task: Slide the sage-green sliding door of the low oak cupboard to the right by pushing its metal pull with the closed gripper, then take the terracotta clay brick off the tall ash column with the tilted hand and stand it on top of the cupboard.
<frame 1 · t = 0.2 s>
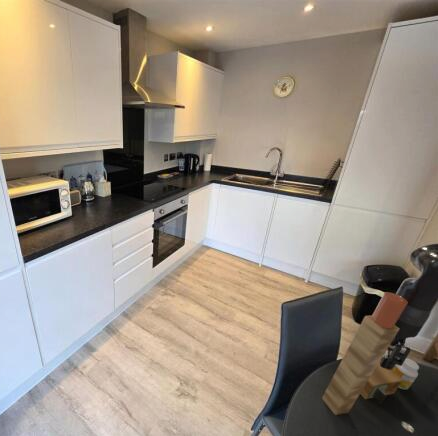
hand: (380, 356, 73), 19 cm above the table, tool pointing down, fingers open, 8 cm apart
column: (334, 405, 77), on the table
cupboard: (369, 385, 84), on the table
cupboard door: (381, 394, 78), point 4 cm above the table, slide at 0.0 cm
supplement bottle: (397, 382, 86), on the table
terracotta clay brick: (382, 322, 64), point 35 cm above the table, touching column
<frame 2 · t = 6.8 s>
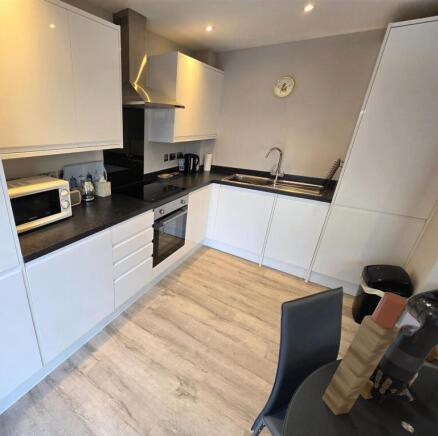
hand: (375, 397, 76), 5 cm above the table, tool pointing down, fingers closed
nothing on the table moved.
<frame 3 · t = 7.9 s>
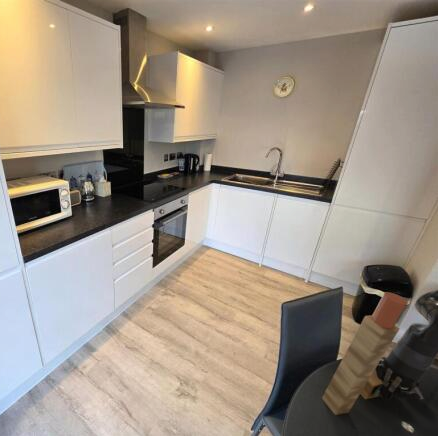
hand: (384, 395, 77), 5 cm above the table, tool pointing down, fingers closed
cupboard door: (387, 393, 79), point 4 cm above the table, slide at 2.3 cm, touching gripper
everything else where it was.
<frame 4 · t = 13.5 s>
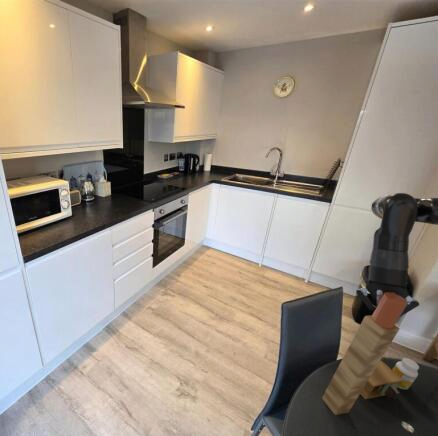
hand: (382, 328, 67), 31 cm above the table, tool tilted 20°, fingers closed
cupboard door: (393, 391, 79), point 4 cm above the table, slide at 4.8 cm
everything else where it was.
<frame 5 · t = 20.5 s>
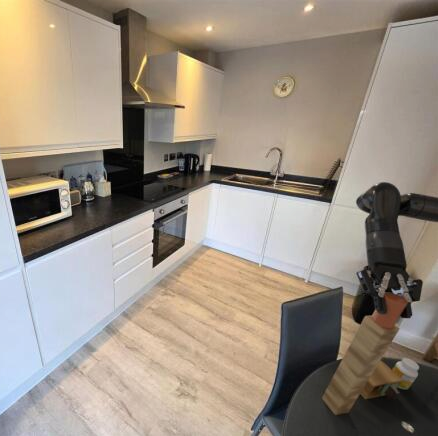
hand: (393, 315, 61), 39 cm above the table, tool tilted 45°, fingers closed on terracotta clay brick, 4 cm apart
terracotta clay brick: (382, 322, 64), point 35 cm above the table, touching column, gripper
everything else where it was.
when the fingers open (11 cm above the table, at t = 32.1 s): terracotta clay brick stays where it is, resting on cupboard.
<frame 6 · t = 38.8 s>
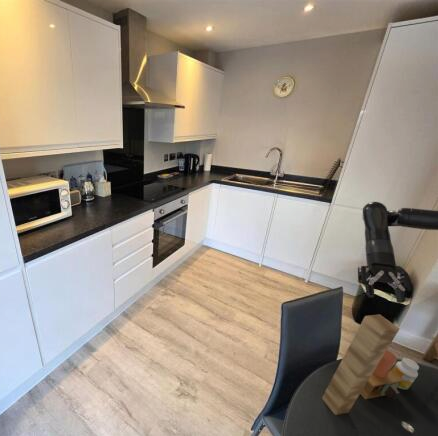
hand: (385, 299, 83), 29 cm above the table, tool tilted 45°, fingers open, 8 cm apart
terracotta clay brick: (377, 371, 82), point 7 cm above the table, touching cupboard
everything else where it was.
at the end: cupboard door slide at 4.8 cm; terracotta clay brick inside the target area on the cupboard (0.1 cm from its centre), point 7.0 cm above the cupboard's base; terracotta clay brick tilted 0° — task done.
